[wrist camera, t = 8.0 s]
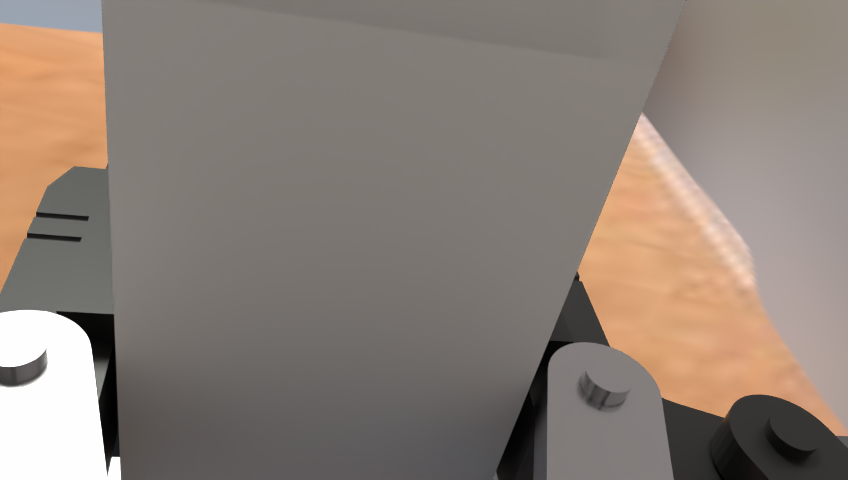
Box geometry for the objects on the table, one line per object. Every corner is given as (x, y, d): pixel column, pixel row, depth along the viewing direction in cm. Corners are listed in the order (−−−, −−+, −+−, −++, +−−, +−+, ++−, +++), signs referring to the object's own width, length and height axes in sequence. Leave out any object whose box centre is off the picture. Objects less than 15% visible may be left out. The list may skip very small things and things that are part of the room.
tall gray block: (132, 771, 13) (92, -220, 4) (158, 591, 15) (162, -275, 7) (379, 756, 13) (724, -95, 5) (367, 588, 16) (594, -182, 8)
